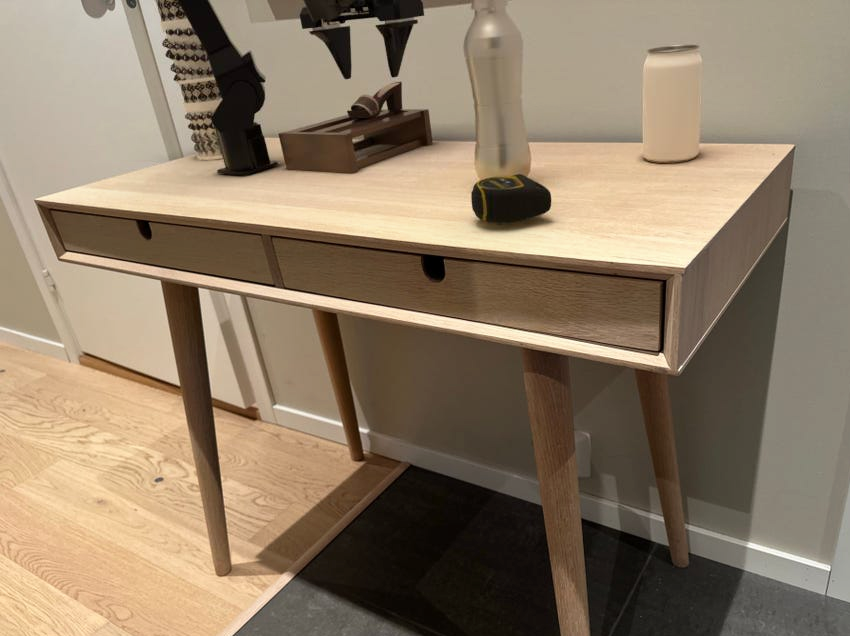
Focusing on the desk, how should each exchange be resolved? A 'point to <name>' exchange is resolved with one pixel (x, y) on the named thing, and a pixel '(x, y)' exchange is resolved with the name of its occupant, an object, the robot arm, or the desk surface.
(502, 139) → the plastic bottle
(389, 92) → the heeled mule
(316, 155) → the shoe rack
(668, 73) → the can
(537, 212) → the tape measure
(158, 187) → the desk surface
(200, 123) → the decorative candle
